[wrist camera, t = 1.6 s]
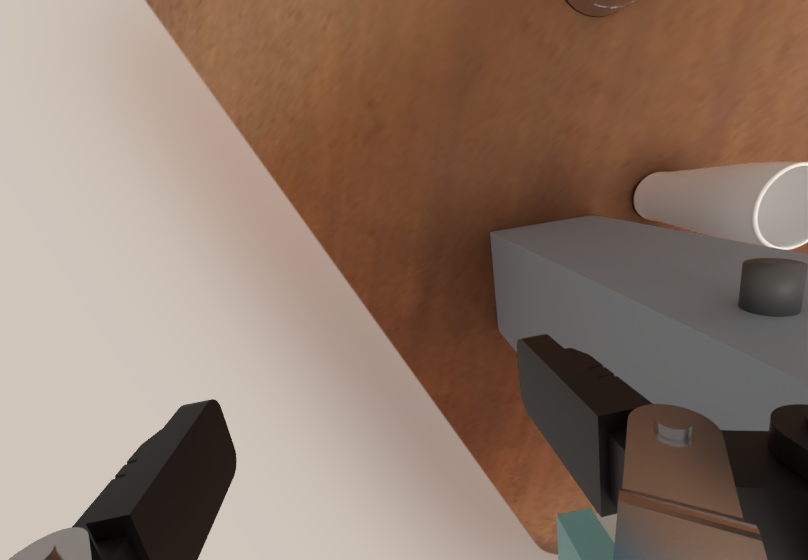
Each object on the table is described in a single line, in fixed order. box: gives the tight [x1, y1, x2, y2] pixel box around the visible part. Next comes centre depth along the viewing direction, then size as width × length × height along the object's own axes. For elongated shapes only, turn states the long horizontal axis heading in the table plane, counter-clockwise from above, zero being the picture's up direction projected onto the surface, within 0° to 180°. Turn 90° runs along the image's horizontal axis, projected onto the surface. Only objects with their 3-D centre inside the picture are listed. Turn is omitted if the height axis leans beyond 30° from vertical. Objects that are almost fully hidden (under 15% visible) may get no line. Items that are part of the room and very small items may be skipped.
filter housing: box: [490, 215, 808, 431], centre depth 26 cm, size 16×12×38 cm
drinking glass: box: [633, 162, 808, 250], centre depth 36 cm, size 7×7×15 cm
